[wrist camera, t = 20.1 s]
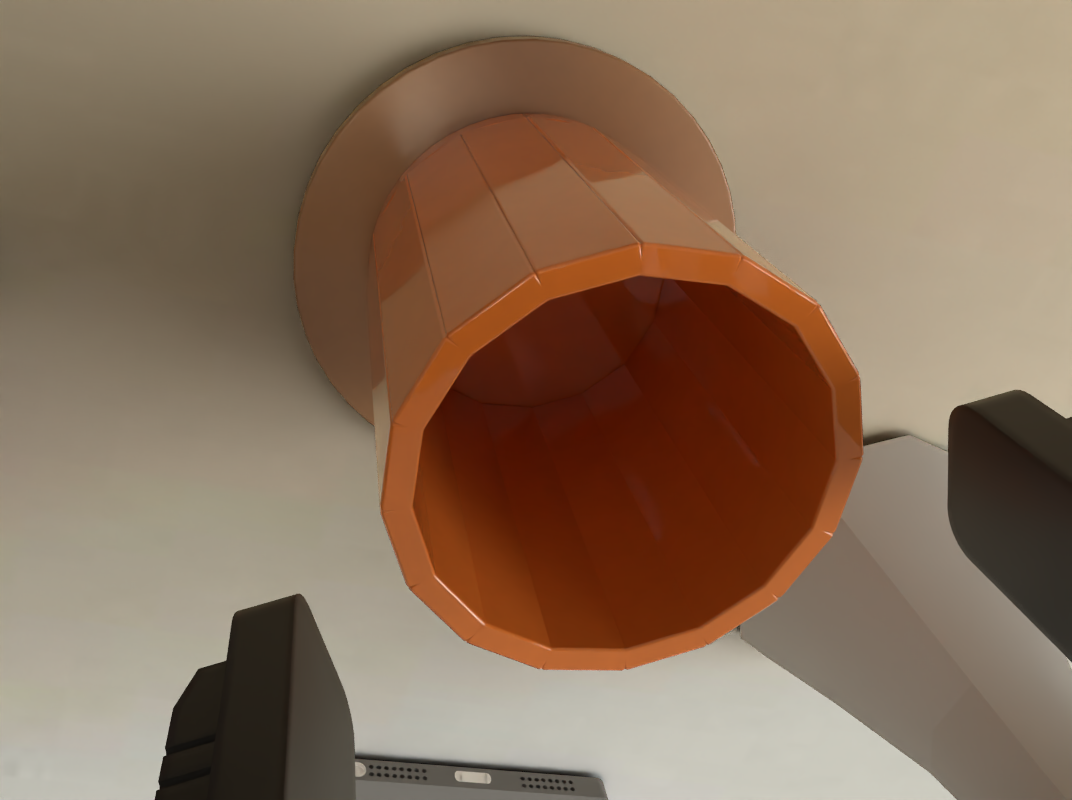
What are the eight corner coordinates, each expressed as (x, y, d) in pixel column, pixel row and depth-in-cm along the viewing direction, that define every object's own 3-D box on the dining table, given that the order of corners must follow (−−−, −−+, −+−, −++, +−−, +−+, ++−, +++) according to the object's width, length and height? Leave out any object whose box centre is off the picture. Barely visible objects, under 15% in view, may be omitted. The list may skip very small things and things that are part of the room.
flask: (1028, 436, 24) (1425, 738, 15) (931, 656, 27) (1215, 1012, 18) (768, 421, 22) (1046, 752, 13) (697, 657, 25) (886, 1050, 17)
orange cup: (325, 159, 17) (313, 330, 10) (648, 76, 17) (853, 184, 10) (415, 441, 20) (455, 722, 13) (690, 364, 20) (871, 598, 13)
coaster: (370, 503, 21) (371, 515, 21) (225, 103, 17) (221, 107, 16) (747, 396, 22) (755, 406, 21) (701, -17, 17) (710, -16, 17)
